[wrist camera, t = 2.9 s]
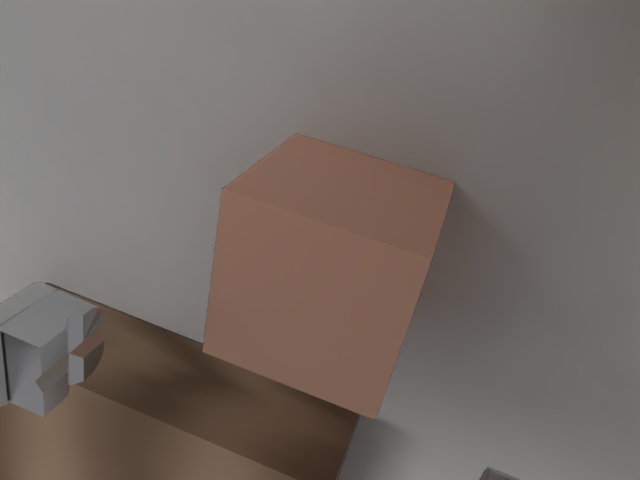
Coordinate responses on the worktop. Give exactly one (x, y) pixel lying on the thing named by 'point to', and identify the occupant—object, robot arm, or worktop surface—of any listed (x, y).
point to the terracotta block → (322, 268)
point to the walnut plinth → (173, 419)
